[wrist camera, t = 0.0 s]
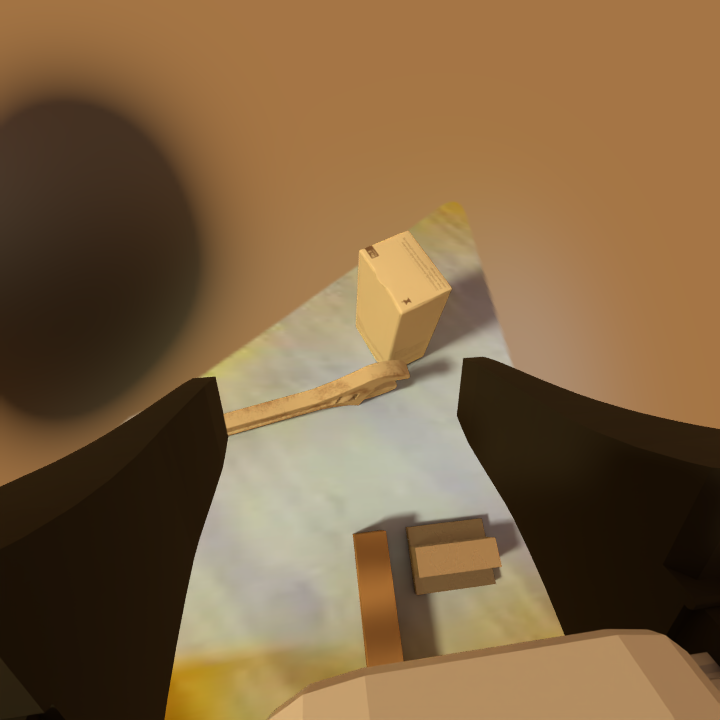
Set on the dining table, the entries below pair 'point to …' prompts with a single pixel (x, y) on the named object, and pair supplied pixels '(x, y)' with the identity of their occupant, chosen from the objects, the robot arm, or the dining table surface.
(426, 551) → the ridge
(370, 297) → the skincare box
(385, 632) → the walnut bar
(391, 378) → the wrench
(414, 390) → the dining table surface
